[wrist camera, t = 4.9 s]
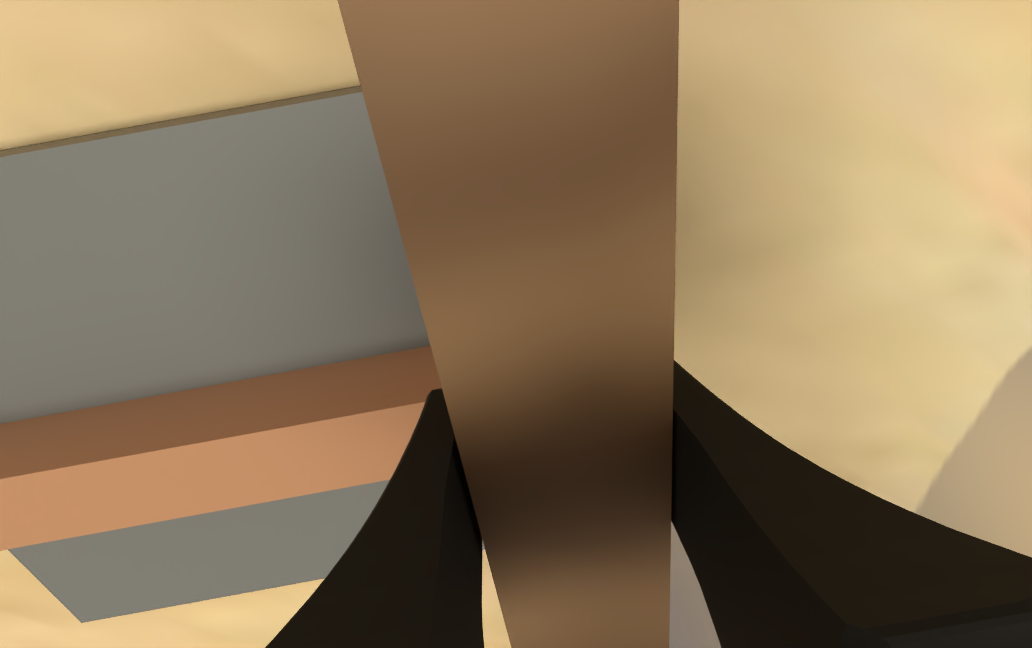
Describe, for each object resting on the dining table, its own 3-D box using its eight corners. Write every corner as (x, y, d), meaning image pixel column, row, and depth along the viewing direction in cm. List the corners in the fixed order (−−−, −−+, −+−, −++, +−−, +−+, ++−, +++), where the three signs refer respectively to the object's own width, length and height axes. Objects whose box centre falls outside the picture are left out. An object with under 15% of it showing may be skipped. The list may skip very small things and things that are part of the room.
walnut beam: (620, 548, 19) (668, 714, 15) (516, 567, 19) (535, 737, 15) (578, -129, 10) (681, -187, 5) (366, -94, 10) (304, -125, 5)
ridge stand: (553, 517, 28) (568, 596, 24) (92, 602, 28) (43, 693, 24) (474, 65, 17) (481, 94, 13) (-290, 202, 17) (-476, 267, 13)
